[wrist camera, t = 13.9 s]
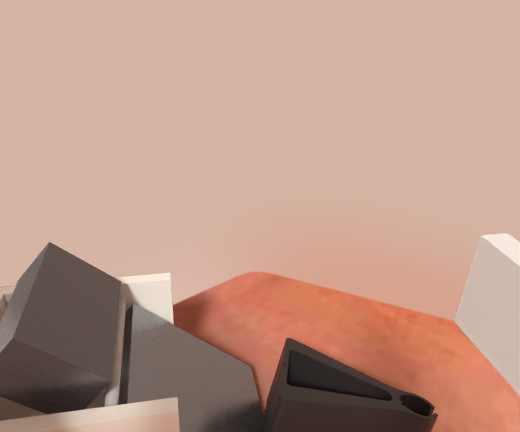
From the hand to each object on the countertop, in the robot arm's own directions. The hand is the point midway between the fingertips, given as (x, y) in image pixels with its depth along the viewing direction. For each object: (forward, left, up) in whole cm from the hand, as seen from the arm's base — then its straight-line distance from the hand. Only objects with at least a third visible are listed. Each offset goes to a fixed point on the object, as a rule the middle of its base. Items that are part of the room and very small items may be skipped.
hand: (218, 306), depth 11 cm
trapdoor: (-4, +17, -21) cm, 27 cm away
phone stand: (+6, +17, -22) cm, 29 cm away
